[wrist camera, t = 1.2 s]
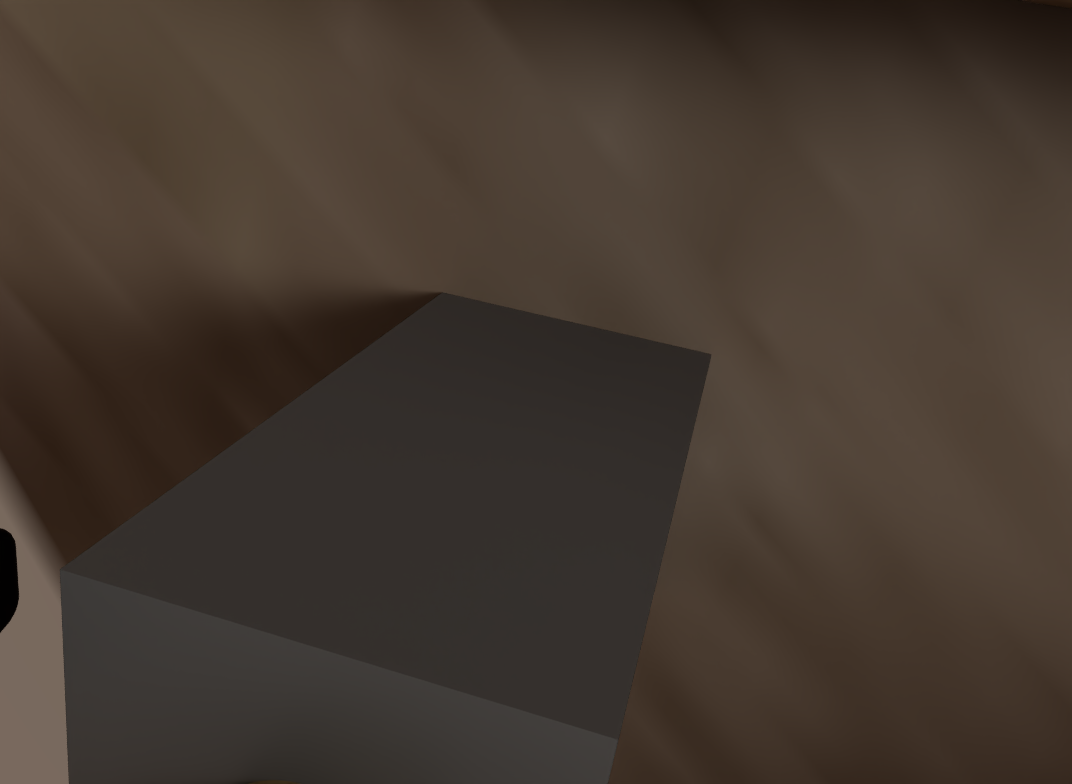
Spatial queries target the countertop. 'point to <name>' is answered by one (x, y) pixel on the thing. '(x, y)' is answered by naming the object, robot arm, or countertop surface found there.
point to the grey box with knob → (395, 570)
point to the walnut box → (1053, 2)
